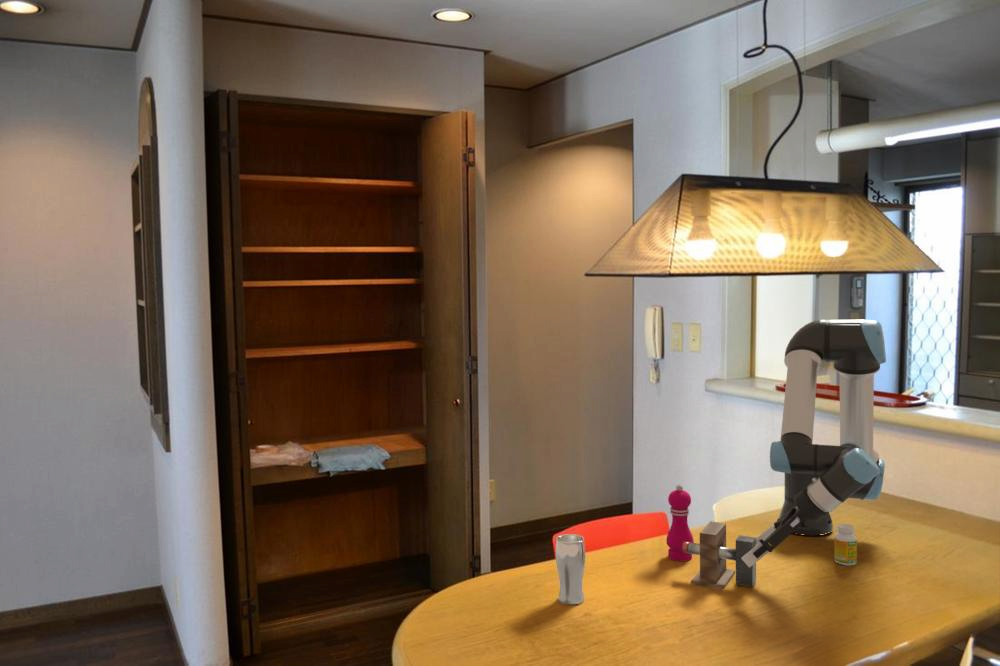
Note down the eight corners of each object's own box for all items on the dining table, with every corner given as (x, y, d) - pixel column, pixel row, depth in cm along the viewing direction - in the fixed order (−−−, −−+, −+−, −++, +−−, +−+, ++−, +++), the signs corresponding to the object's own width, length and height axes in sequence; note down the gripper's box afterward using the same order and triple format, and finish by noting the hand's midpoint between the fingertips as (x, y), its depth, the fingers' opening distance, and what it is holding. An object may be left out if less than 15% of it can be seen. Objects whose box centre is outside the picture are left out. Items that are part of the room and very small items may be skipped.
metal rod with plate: (756, 581, 194) (755, 537, 193) (752, 586, 190) (752, 542, 189) (686, 569, 202) (685, 527, 202) (681, 574, 199) (681, 532, 198)
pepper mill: (691, 552, 215) (691, 481, 214) (695, 562, 208) (695, 488, 207) (665, 552, 216) (664, 481, 215) (668, 561, 209) (667, 488, 208)
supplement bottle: (849, 567, 202) (849, 530, 201) (830, 561, 206) (830, 525, 205) (860, 562, 205) (861, 526, 204) (841, 557, 209) (841, 521, 209)
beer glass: (550, 599, 187) (549, 538, 186) (571, 591, 191) (570, 531, 190) (571, 608, 181) (570, 545, 180) (592, 600, 186) (591, 538, 185)
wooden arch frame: (735, 573, 200) (735, 523, 199) (723, 590, 190) (723, 537, 189) (704, 568, 204) (703, 519, 203) (690, 584, 194) (690, 532, 193)
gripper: (812, 475, 195) (750, 526, 203) (797, 501, 173) (728, 557, 182) (835, 499, 193) (772, 549, 201) (822, 528, 171) (752, 583, 179)
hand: (751, 553), depth 191 cm, fingers open, 13 cm apart
